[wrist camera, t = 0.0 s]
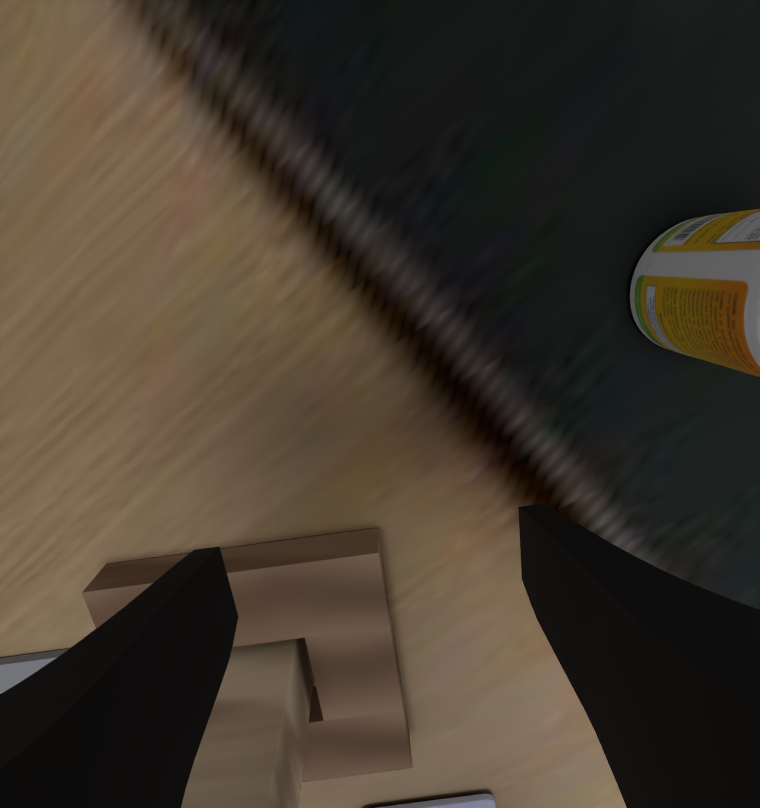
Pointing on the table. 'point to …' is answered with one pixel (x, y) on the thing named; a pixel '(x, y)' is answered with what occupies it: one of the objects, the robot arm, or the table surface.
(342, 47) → the table surface
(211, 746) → the maple plug
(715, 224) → the supplement bottle
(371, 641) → the brown square hole board
